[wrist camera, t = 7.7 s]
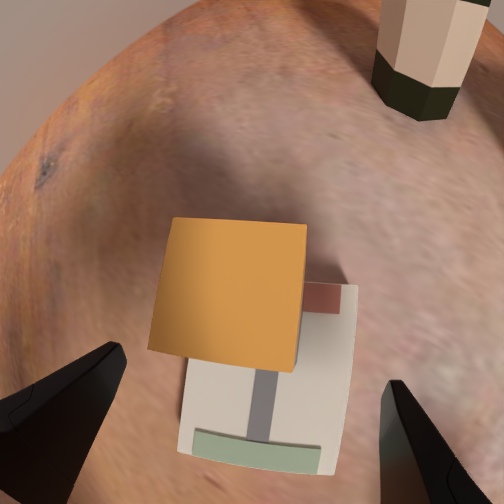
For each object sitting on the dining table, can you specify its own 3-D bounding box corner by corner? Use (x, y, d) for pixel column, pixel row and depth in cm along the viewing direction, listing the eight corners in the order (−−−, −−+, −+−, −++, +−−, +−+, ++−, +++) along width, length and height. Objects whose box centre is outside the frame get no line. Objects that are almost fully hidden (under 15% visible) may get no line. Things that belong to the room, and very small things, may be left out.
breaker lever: (297, 361, 15) (292, 372, 6) (240, 355, 16) (147, 348, 6) (303, 305, 16) (306, 224, 6) (247, 300, 17) (173, 217, 7)
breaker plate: (330, 464, 15) (334, 476, 13) (188, 443, 17) (175, 452, 15) (352, 292, 18) (359, 284, 16) (211, 280, 20) (201, 271, 18)
